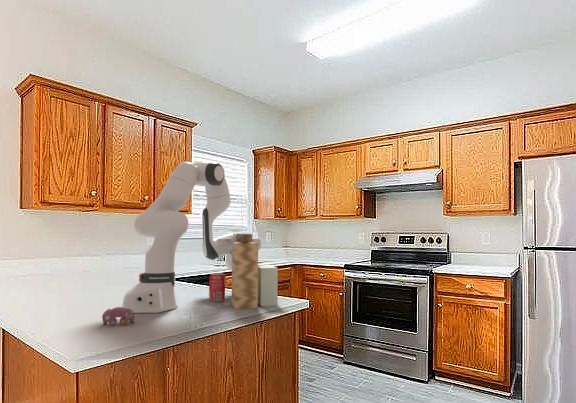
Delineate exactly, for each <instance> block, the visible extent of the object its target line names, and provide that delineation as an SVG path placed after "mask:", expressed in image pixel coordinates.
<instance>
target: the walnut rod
mask: <svg viewBox="0 0 576 403" xmlns="http://www.w3.org/2000/svg"><path fill="white" fill-rule="evenodd" d="M235 235H237V240H236V241H238V242H243V243H252V239H253V233H235Z"/></svg>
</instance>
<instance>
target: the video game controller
mask: <svg viewBox="0 0 576 403" xmlns="http://www.w3.org/2000/svg"><path fill="white" fill-rule="evenodd" d="M101 317H102V318H101V319H102V323H103V325H106V324H109V325H110V326H116V324H117V323H118V318H120V319H119V324H120V325H126V324H127V323H128V322H130V323H134V322H135V318H136V317H135V313H134V312H133V311H132V310H131V309H130V308H127V309H126V308H122V307H118V306H117V307H114V308H112V309H111V308H107V309H106V310H105V311H104V312H103V313H102V316H101Z"/></svg>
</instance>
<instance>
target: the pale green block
mask: <svg viewBox="0 0 576 403" xmlns="http://www.w3.org/2000/svg"><path fill="white" fill-rule="evenodd" d="M278 269H279V268H278V267H277V266H274V265H271V264H258V306H260V307H274V306H276V307H277V306H278V299H279V298H278V295H279V294H278V293H279V292H278V291H279V289H278V284H279V281H278V280H279V279H278V276H279V274H278V272H279V270H278Z"/></svg>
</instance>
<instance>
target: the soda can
mask: <svg viewBox="0 0 576 403" xmlns="http://www.w3.org/2000/svg"><path fill="white" fill-rule="evenodd" d="M208 281H209V282H208V300H209V301H210V302H213V303H220V302H223V301H224V300H225V298H226V276H225V273H223V272H212V273H210V276H209V280H208Z"/></svg>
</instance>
